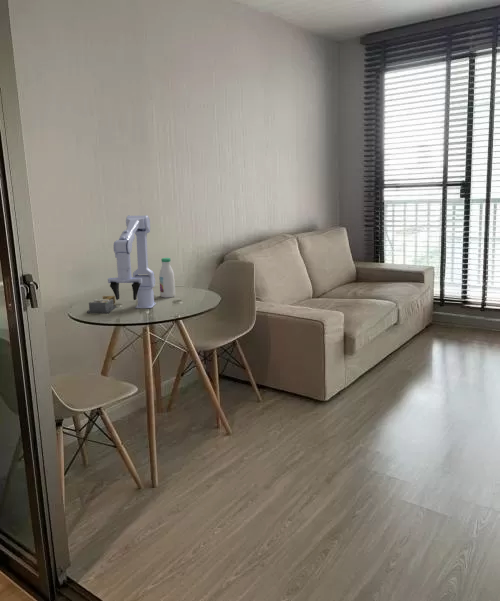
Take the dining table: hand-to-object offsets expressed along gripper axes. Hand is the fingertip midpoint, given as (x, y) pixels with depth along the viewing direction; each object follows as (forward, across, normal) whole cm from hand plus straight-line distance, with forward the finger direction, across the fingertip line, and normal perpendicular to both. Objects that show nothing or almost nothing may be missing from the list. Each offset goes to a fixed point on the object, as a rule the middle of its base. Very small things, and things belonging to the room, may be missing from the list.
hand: (126, 299), depth 233 cm
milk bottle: (+10, +5, +49) cm, 51 cm away
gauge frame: (+10, -19, +20) cm, 29 cm away
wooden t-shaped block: (+10, -19, +26) cm, 34 cm away
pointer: (+9, -19, +20) cm, 29 cm away
